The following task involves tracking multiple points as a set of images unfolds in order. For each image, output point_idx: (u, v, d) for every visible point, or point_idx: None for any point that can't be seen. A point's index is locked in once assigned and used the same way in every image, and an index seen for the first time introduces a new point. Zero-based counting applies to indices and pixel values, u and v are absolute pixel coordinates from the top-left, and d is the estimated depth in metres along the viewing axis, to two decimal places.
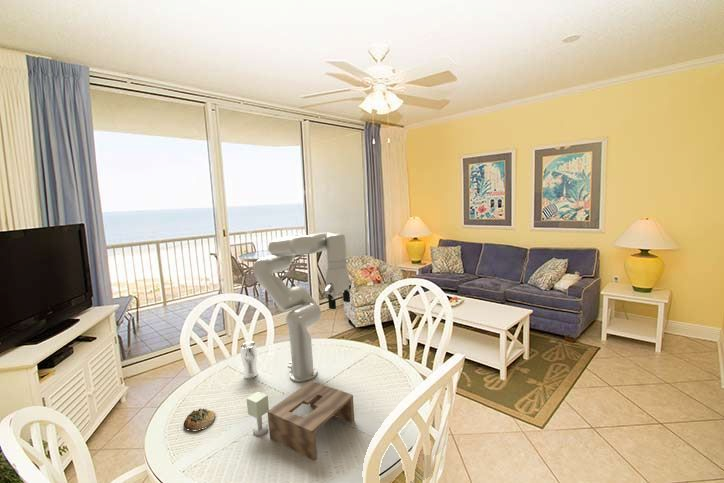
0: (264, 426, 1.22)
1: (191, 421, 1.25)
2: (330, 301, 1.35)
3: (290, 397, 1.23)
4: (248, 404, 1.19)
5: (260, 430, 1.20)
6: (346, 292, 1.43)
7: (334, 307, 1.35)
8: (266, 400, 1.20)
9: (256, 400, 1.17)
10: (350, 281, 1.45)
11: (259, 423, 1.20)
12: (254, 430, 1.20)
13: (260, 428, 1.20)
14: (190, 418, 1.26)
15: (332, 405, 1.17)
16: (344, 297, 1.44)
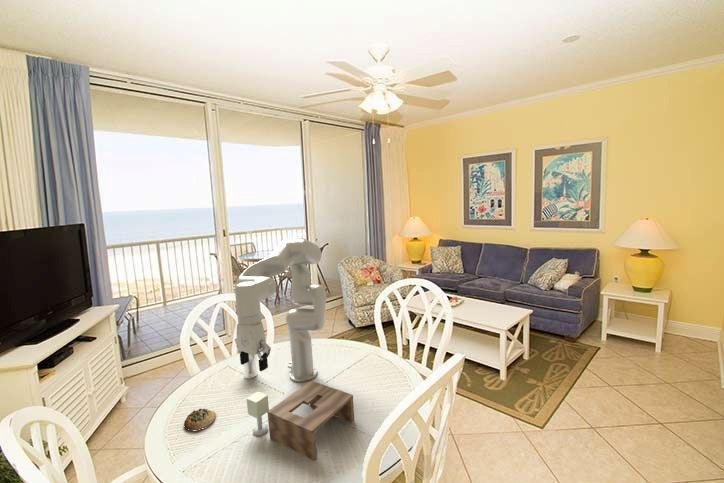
0: (264, 426, 1.22)
1: (191, 421, 1.25)
2: (264, 360, 1.14)
3: (290, 397, 1.23)
4: (248, 404, 1.19)
5: (260, 430, 1.20)
6: (245, 351, 1.20)
7: None
8: (266, 400, 1.20)
9: (256, 400, 1.17)
10: None
11: (259, 423, 1.20)
12: (254, 430, 1.20)
13: (260, 428, 1.20)
14: (190, 418, 1.26)
15: (332, 405, 1.17)
16: (243, 358, 1.20)
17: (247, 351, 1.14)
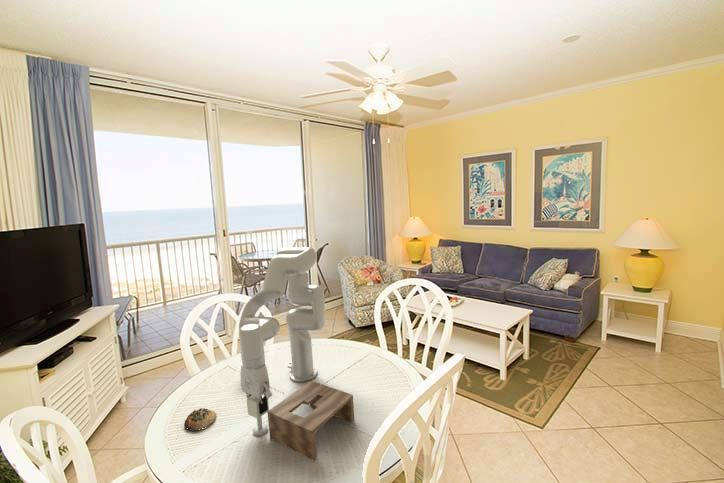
0: (264, 426, 1.22)
1: (192, 421, 1.25)
2: (264, 403, 1.18)
3: (290, 397, 1.23)
4: (248, 404, 1.19)
5: (260, 430, 1.20)
6: None
7: None
8: None
9: (256, 400, 1.17)
10: None
11: (259, 423, 1.20)
12: (254, 430, 1.20)
13: (260, 428, 1.20)
14: (191, 418, 1.26)
15: (332, 405, 1.17)
16: None
17: (251, 393, 1.16)
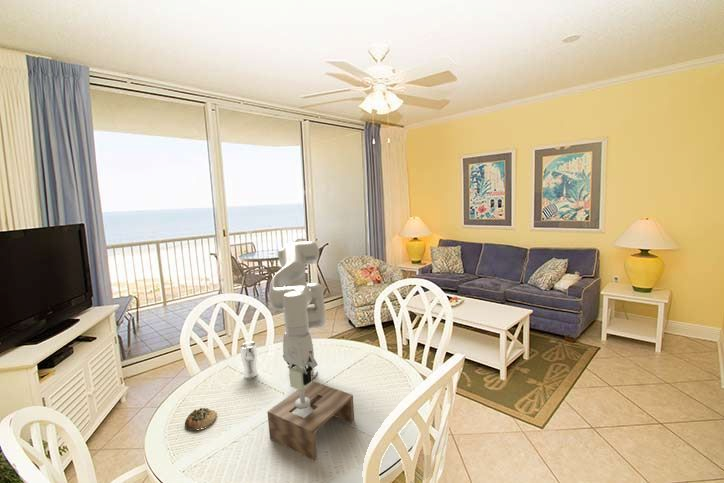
0: (306, 399, 1.16)
1: (192, 420, 1.25)
2: (309, 374, 1.12)
3: (290, 397, 1.23)
4: (291, 375, 1.13)
5: (303, 403, 1.14)
6: (295, 365, 1.16)
7: None
8: None
9: (300, 371, 1.12)
10: None
11: (302, 396, 1.14)
12: (297, 403, 1.14)
13: (303, 401, 1.15)
14: (191, 417, 1.26)
15: (332, 405, 1.17)
16: None
17: (295, 363, 1.11)
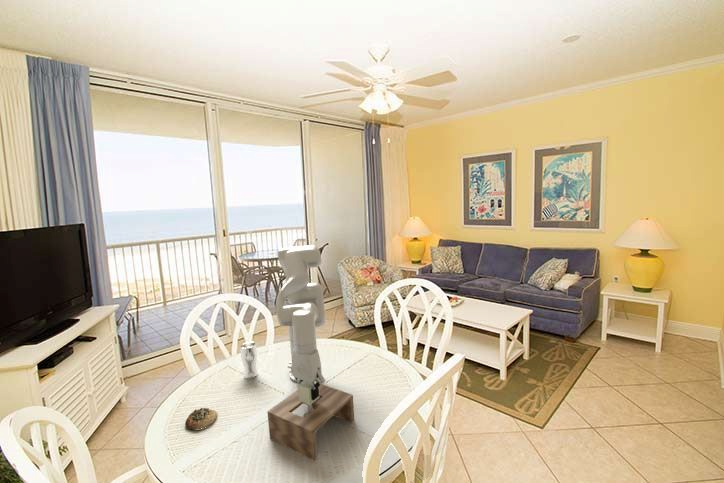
0: None
1: (193, 420, 1.25)
2: (317, 389, 1.16)
3: (290, 397, 1.23)
4: (299, 390, 1.17)
5: None
6: (303, 380, 1.20)
7: None
8: None
9: (308, 386, 1.16)
10: None
11: (310, 410, 1.18)
12: None
13: None
14: (192, 417, 1.26)
15: (332, 405, 1.17)
16: None
17: (303, 379, 1.15)
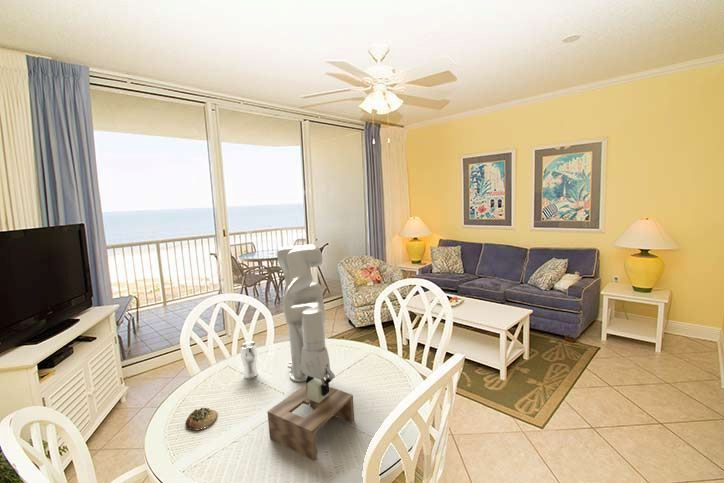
0: None
1: (193, 420, 1.25)
2: (327, 386, 1.19)
3: (290, 397, 1.23)
4: (308, 389, 1.21)
5: None
6: (310, 376, 1.24)
7: None
8: None
9: (317, 385, 1.19)
10: None
11: None
12: None
13: None
14: (192, 417, 1.26)
15: (332, 405, 1.17)
16: None
17: (313, 375, 1.18)
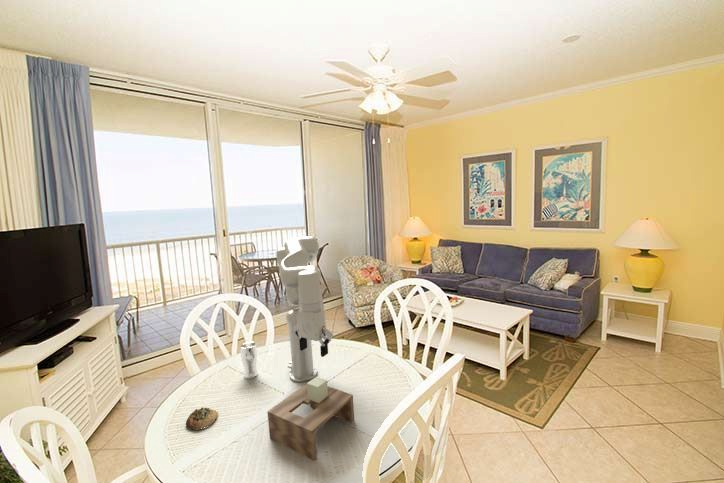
0: None
1: (193, 420, 1.25)
2: (326, 346, 1.18)
3: (290, 397, 1.23)
4: (308, 389, 1.21)
5: None
6: (304, 338, 1.24)
7: None
8: (326, 385, 1.22)
9: (317, 385, 1.19)
10: None
11: None
12: None
13: None
14: (192, 417, 1.26)
15: (332, 405, 1.17)
16: (302, 345, 1.23)
17: (309, 337, 1.18)
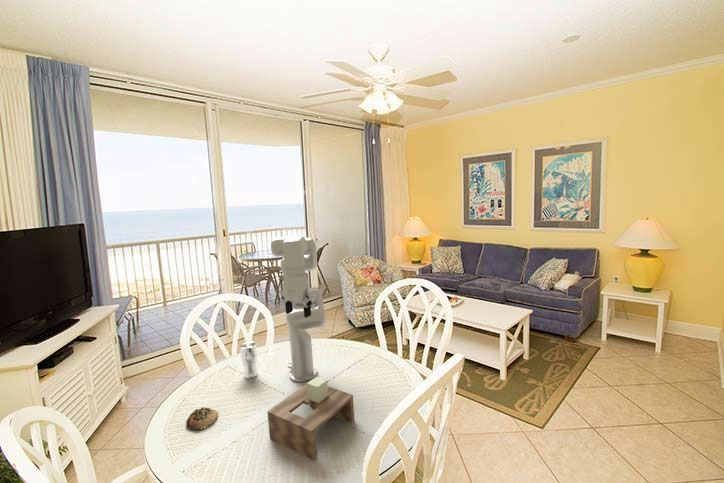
0: None
1: (194, 420, 1.25)
2: (309, 308, 1.29)
3: (290, 397, 1.23)
4: (308, 389, 1.21)
5: None
6: (289, 302, 1.35)
7: None
8: (326, 385, 1.22)
9: (317, 385, 1.19)
10: None
11: None
12: None
13: None
14: (193, 417, 1.27)
15: (332, 405, 1.17)
16: (288, 308, 1.34)
17: (293, 300, 1.29)
